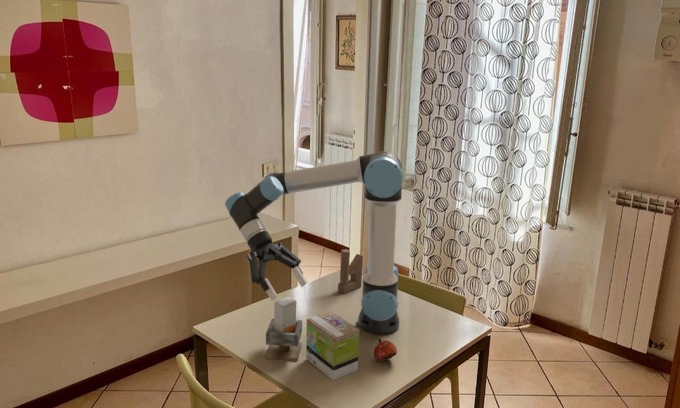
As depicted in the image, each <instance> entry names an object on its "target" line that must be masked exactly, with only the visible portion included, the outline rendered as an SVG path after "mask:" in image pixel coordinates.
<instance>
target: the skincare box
mask: <svg viewBox="0 0 680 408" xmlns="http://www.w3.org/2000/svg"><path fill="white" fill-rule="evenodd" d="M273 305H274V308H273V309H274V311H273V316H274V317H273V319H274V332H283V333H295V331H296V320H297V300H296V299H295V298H292V297H290V296H287V297H284V298H280V299H278V300H276V301H275V300H274V304H273Z"/></svg>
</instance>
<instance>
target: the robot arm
mask: <svg viewBox="0 0 680 408" xmlns="http://www.w3.org/2000/svg"><path fill="white" fill-rule="evenodd" d="M403 180H404V172H403V164H402V162H401V160H400V159H399V157H398V156H397V155H396V154H394V153H393V152H390V151H378V152H374V153H370V154H365V155H360V156H358V157H357V159H354V160H348V161H342V162H338V163H337V162H336V163H331V164H327V165H319V166H313V167H307V168H302V169H297V170H291V171H286V172H285V171H284V172H277V171H275V172H271V173H269V174H267V175H266V176H265V177H264V178H263V179H262V180H261V181H260V182H258V183H257V185H255V186H254V187H253V188H251V190H249V191H248V192H247V193H246V194H245V193H244V192H243V191H241V192H239V191H238V192H236V193H234V194H232V195H230V196H229V197H227V199H226V200H225V203H224V204H225V208H226V210H227V211H228V214H229V216H230V217H231V219H232V220H233V222H234V224H235V225H236V227H237V228H238V230H239V232H240V234H241V235H242V237H243V239H244V240H245V241H246V243H247V245H248V247H249V249H250V252H249V253H248V254H247V256H246V258H247V260H248V262H249V269H250V270H249V271H250V278H251V282H252V283H253V284H255V283H256V284H257V285H260V287H261V288H262V290H263V292H266V294H267V295H268V297H269V298H270V301H275V299H276V298H277V297H278V294H277V292H276V291H275V289H274V287H273V286H272V284H271V282H270V280H269V279H268V278H267V277H266V278H265V275H266V266H267V263H269V262H272V261H273V260H274V261H277V262H280V263H281V264H284V265H285V266H287V267H289V268H290V269H291V272H292V274H293V276H294V278H295V279H296V280H297V283H298V284H299V285H300V288H303V287H305V286H306V285H307V284H308V281H307V280H306V278H305V276H304V273H303V271H302V270H301V269H302V268H300V265H301V263H302V260H301V259H300V258H299V257H298V256H296V255H295V254H294V253H293V252H291V250H289V249H288V248H287V247H285V245H284V244H283V243H282V242H281V241H279V242H277V243H276V244H274V243H273V239H272V236H271V235H270V233H269V232H268V231H267V229H266V227H265V225H264V223H263V222H262V221H261V219H260V217H259V215H258V214H260V213H261V212H262V211H263V210H265V209H266V208H267V207H268V206H270V205H271V204H272V203H274V202H275V201H277V200H278V199H279V198H280V197H281V196H284V195H288V194H292V193H293V194H294V193H301V192H307V191H312V190H319V189H324V188H331V187H338V186H342V185H349V184H355V183H360V184H362V185H364V199H365V201H367V202H368V203H369V204H368V205H369V206H368V207H369V208H368V209H369V212H368V239H367V241H368V245H367V249H368V250H367V265H366V267H365V270H364V275H362V297H361V304H360V305H361V310H360V311H359V314H358V317H357V325H358V327H359V328H360V329H361V330H362V331H364V332H367V333H370V334H374V335H375V334H376V335H386V334H387V335H389V334H392V333H394V332H396V331H397V330H398V329H400V323H401V322H400V317H399V313H398V307H399V302H398V296H399V295H398V293H399V291H398V290H399V287H398V286H399V277H398V276H399V269H398V267H397V266H395V249H396V248H395V247H396V245H395V244H396V223H397V222H396V221H397V220H396V219H397V204H398V203H399V202H400V201H402V194H403V193H402V192H403V191H402V189H403ZM257 259H258V260H257Z"/></svg>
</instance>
